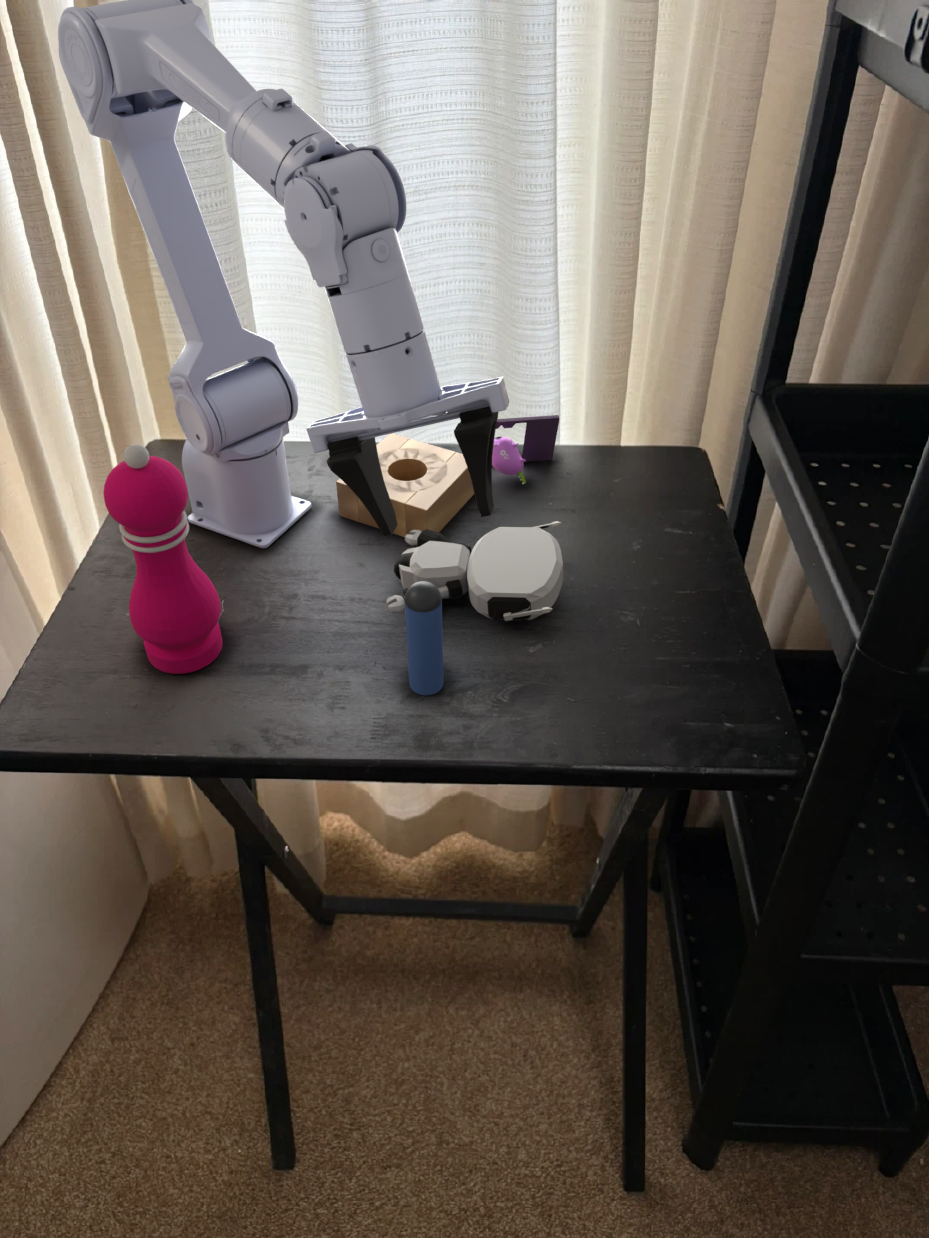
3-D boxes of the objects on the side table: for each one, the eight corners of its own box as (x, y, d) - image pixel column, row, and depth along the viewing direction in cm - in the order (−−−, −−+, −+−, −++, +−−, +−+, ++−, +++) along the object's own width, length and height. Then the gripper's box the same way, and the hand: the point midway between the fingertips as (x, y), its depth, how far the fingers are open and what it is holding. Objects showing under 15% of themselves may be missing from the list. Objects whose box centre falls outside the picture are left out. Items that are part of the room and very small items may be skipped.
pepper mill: (228, 615, 90) (186, 415, 77) (229, 673, 85) (184, 468, 72) (144, 625, 89) (86, 424, 76) (139, 684, 84) (76, 479, 71)
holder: (339, 515, 101) (335, 481, 98) (392, 465, 108) (390, 432, 105) (427, 545, 98) (426, 510, 95) (476, 491, 104) (477, 457, 102)
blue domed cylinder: (402, 688, 84) (396, 590, 77) (420, 667, 85) (415, 569, 78) (433, 700, 83) (429, 601, 76) (449, 678, 84) (447, 580, 77)
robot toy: (385, 638, 89) (559, 644, 87) (378, 598, 86) (558, 603, 84) (409, 551, 98) (567, 554, 96) (403, 512, 95) (567, 515, 93)
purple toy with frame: (558, 409, 103) (468, 415, 102) (566, 450, 101) (475, 457, 100) (550, 451, 109) (466, 457, 108) (558, 491, 107) (472, 497, 106)
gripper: (271, 379, 70) (334, 560, 75) (475, 328, 66) (526, 523, 71) (302, 355, 76) (359, 524, 81) (491, 307, 72) (537, 487, 78)
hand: (438, 521), depth 77 cm, fingers open, 7 cm apart
